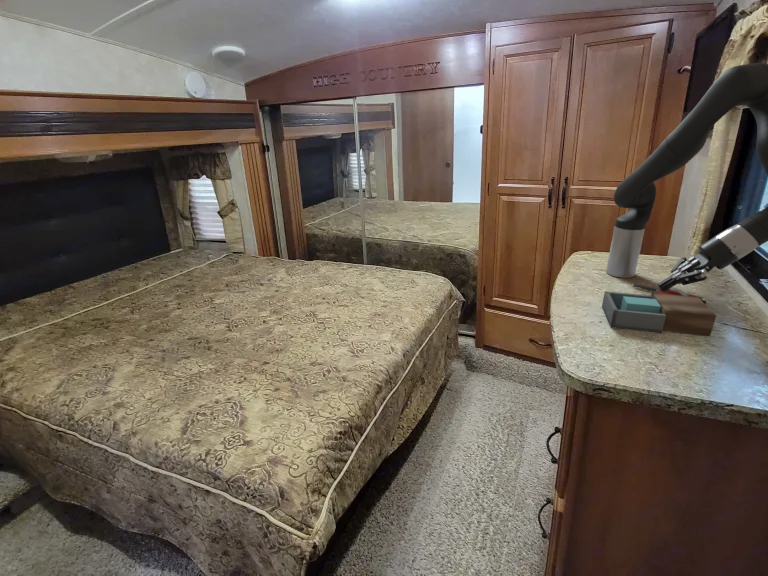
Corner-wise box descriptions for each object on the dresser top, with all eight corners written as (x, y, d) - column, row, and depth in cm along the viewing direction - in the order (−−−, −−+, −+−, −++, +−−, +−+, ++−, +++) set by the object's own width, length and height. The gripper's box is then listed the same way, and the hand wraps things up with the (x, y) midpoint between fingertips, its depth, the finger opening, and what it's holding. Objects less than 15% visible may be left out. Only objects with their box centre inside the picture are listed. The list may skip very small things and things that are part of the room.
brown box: (648, 312, 119) (652, 293, 116) (692, 316, 115) (698, 297, 113) (660, 331, 108) (665, 310, 106) (709, 336, 105) (716, 315, 103)
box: (601, 306, 123) (604, 291, 121) (647, 311, 119) (651, 295, 118) (610, 327, 111) (613, 310, 109) (661, 333, 107) (666, 315, 105)
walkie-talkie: (707, 304, 124) (633, 287, 137) (711, 291, 122) (636, 275, 136) (700, 313, 118) (625, 295, 132) (704, 299, 117) (627, 282, 130)
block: (651, 315, 115) (619, 312, 117) (655, 299, 113) (623, 296, 115) (656, 323, 110) (623, 319, 113) (661, 306, 109) (627, 303, 111)
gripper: (707, 229, 107) (644, 270, 115) (730, 242, 96) (658, 286, 104) (725, 250, 108) (661, 289, 116) (750, 266, 96) (677, 308, 104)
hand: (660, 288), depth 110 cm, fingers closed
